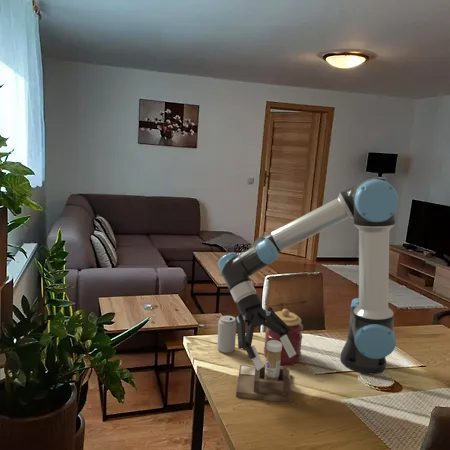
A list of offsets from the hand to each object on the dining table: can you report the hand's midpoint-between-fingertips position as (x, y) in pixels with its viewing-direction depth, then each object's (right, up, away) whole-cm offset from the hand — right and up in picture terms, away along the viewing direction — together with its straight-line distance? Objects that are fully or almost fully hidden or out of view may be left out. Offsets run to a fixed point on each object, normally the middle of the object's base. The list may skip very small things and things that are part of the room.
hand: (277, 362), depth 127 cm
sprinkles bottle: (-2, -8, +3) cm, 9 cm away
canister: (+5, -6, +24) cm, 26 cm away
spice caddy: (-4, -9, +5) cm, 11 cm away
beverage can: (-15, -5, +27) cm, 32 cm away
